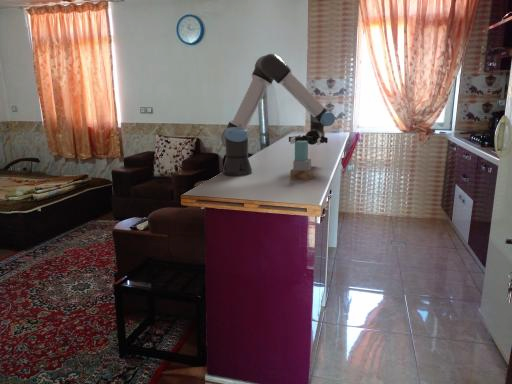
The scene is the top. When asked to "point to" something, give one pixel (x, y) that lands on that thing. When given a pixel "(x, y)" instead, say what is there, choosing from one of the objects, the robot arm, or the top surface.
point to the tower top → (302, 165)
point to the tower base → (302, 174)
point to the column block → (301, 150)
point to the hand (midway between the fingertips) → (304, 141)
